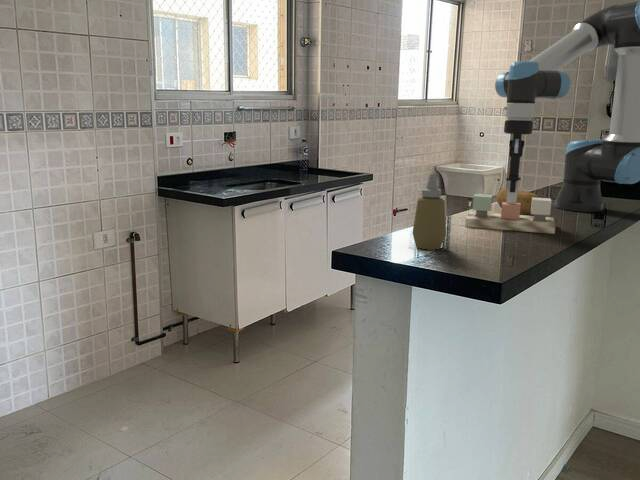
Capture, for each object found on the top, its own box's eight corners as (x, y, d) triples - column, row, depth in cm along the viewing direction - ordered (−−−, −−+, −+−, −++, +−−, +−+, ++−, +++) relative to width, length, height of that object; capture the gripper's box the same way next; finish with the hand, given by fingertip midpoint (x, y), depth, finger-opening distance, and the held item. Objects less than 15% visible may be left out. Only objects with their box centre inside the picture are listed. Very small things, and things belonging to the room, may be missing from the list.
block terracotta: (518, 224, 175) (520, 203, 174) (518, 227, 171) (520, 205, 169) (500, 222, 177) (502, 201, 175) (500, 225, 172) (502, 204, 171)
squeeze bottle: (423, 253, 141) (427, 176, 137) (405, 245, 149) (408, 172, 144) (451, 250, 144) (456, 175, 140) (432, 242, 152) (437, 171, 148)
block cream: (548, 219, 173) (550, 198, 171) (549, 223, 168) (551, 201, 167) (530, 218, 174) (532, 197, 173) (530, 221, 169) (532, 200, 168)
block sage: (490, 215, 177) (492, 194, 176) (489, 218, 173) (491, 197, 171) (473, 214, 179) (474, 193, 177) (471, 217, 174) (473, 196, 173)
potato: (530, 220, 184) (533, 194, 182) (489, 213, 193) (491, 188, 191) (545, 216, 190) (547, 191, 188) (504, 210, 200) (506, 186, 198)
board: (552, 225, 176) (553, 217, 175) (554, 233, 165) (555, 225, 164) (468, 219, 183) (469, 211, 182) (465, 226, 172) (465, 218, 171)
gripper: (505, 118, 174) (498, 198, 179) (504, 119, 162) (496, 205, 167) (532, 119, 172) (524, 200, 177) (533, 120, 160) (525, 207, 165)
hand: (511, 203), depth 172 cm, fingers closed
